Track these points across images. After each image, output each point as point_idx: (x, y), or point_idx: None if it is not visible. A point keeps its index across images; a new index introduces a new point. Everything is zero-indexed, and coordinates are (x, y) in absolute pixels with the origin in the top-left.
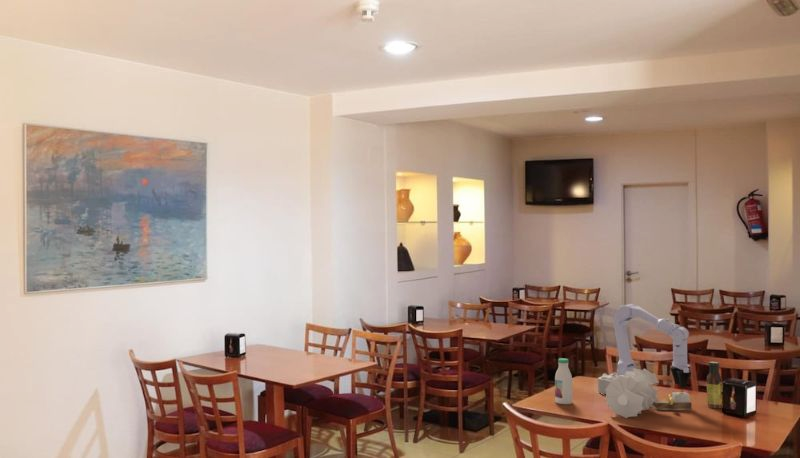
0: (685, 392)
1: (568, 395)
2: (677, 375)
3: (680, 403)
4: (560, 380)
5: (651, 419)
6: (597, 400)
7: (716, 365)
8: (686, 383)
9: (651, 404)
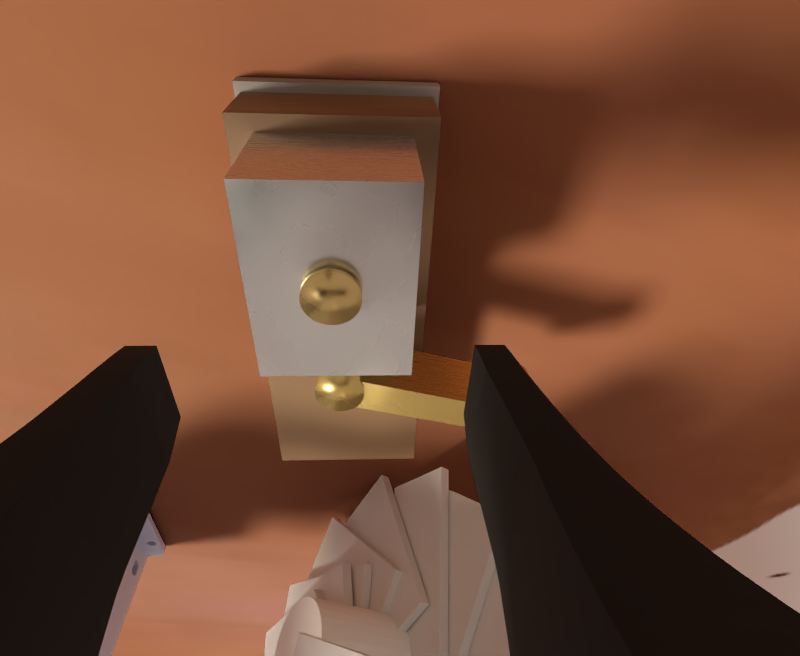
0: (248, 189)
1: None
2: (71, 567)
3: (427, 261)
4: None
5: (647, 486)
6: (192, 610)
7: None
8: (546, 411)
9: (448, 488)
